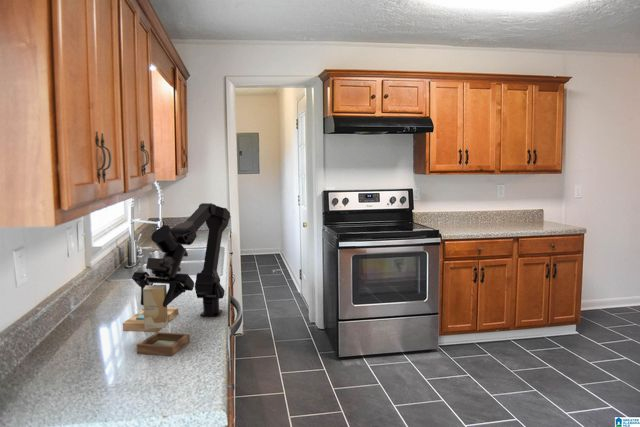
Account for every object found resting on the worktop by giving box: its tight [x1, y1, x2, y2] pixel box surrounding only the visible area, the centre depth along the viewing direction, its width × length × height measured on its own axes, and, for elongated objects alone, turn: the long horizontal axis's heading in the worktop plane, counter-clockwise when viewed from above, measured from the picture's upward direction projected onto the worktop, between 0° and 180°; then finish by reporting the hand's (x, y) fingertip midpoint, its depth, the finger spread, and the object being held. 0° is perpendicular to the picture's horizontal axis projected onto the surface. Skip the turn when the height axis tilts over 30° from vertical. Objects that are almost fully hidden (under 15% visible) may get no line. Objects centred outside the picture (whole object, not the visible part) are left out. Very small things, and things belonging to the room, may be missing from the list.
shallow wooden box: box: [122, 306, 179, 332], centre depth 177 cm, size 18×12×3 cm, turn 174°
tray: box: [136, 331, 191, 357], centre depth 153 cm, size 11×11×2 cm
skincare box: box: [143, 284, 169, 329], centre depth 152 cm, size 6×4×12 cm
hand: (152, 305), depth 151 cm, fingers closed on skincare box, 7 cm apart
